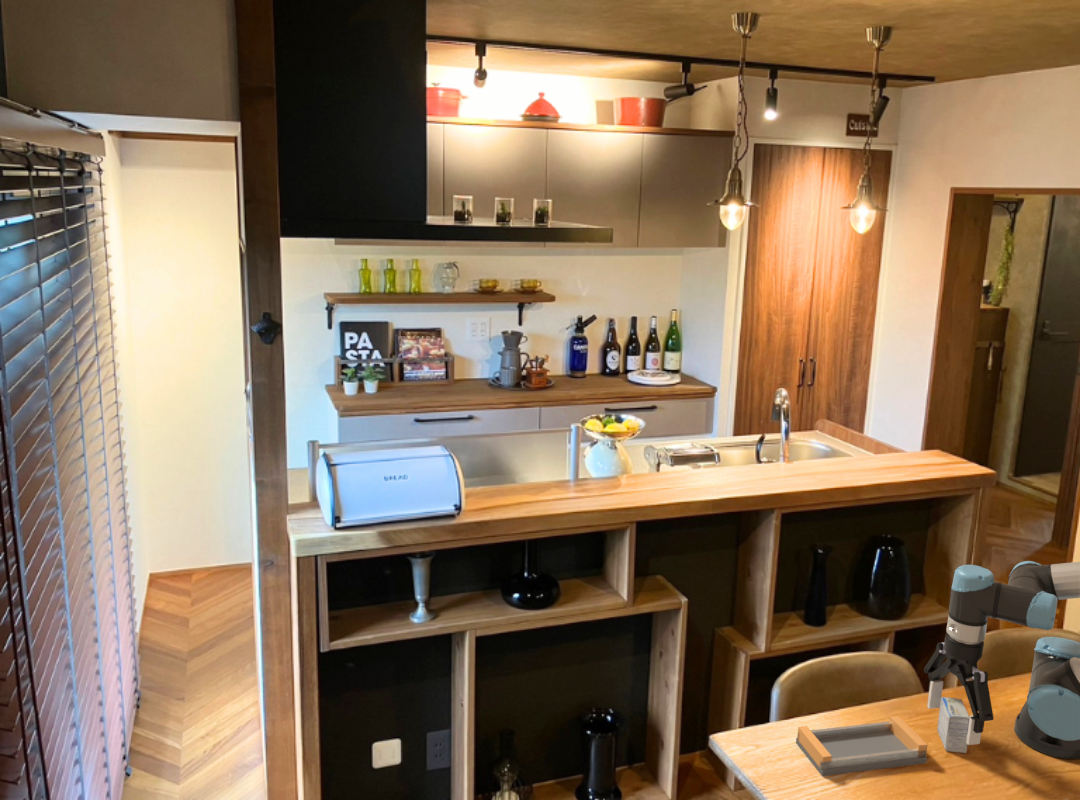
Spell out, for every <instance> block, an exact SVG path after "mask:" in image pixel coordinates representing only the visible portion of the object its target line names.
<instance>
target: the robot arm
mask: <svg viewBox="0 0 1080 800" xmlns="http://www.w3.org/2000/svg"><path fill="white" fill-rule="evenodd" d="M994 578H995V576H994V573H993V572H992V571H991V570H989V569H988V568H985V567H983V566H979V565H976V564H964V565H963V564H962V565H960V566H958V567H957V568H956V569H955V570H954V574H953V579H952V585H951V587H950V588H951V590H950V598H949V599H950V600H949V606H948V615H947V616H948V617H947V625H946V628H945V629H946V633H945V634H944V635H945V637H944V642H937V643H936V648H935V651H934V653H933V654H932V655H931V657H930V658H929V660H928V661H927V663H926V665H925V666H924V668H923V672H924V673H925V674H927V676H928V679H929V683H928V698H927V703H926V704H927V705H926V707H927V708H928V709H929V710H931V709H940V702H941V698H942V697H943V696H942V695H943V689H944V681H943V680H942V679H944V677H946V676H947V675H948V674H950V673H951V674H952V675H954V676H955V677H956V678H957V679H958V680H959V681H960V684H961V686H963V687H964V690H965V693H966V698H967V700H968V703H969V706H970V710H971V712H972V713H971V714H972V715H969V717H970V719H969V726H968V733H967V740H966V743H967V746H971V745H972V746H973V745H980V744H981V738H982V733H983V732H984V728H985V722H990V721H993V720H995V719H994V713H993V712H994V711H993V706H992V702H991V701H992V700H991V694H990V688H989V684H988V682H989V674H988V671H986V670H985V671H982V670H980V669H979V668H978V662H979V660H981V659H982V657H983V653H984V646H985V639H986V636H987V635H986V633H987V626H988V618H991V619H996V620H999V621H1000V620H1001V621H1004V622H1008V623H1012V624H1016V625H1020V626H1024V627H1028V628H1030V629H1039V630H1043V631H1051V630H1053V628H1054V624H1055V622H1056V621H1055V620H1056V614H1057V607H1058V601H1059V600H1070V599H1080V561H1074V562H1064V563H1063V562H1062V563H1053V564H1041V563H1038V562H1035V561H1031V560H1025V561H1021V562H1018V563H1017V564H1016V565H1015V566H1014V567H1013V568H1012V570H1011V572H1010V573H1009V575H1008V584H1006V583H1002V582H998V581H995V579H994ZM1033 650H1034V653H1033V654H1034V656H1033V663H1032V669H1031V676H1030V681H1029V688H1028V693H1027V696H1026V701H1025V702H1024V704H1023V706H1022V707H1021V709H1020V712H1019V713H1018V714H1017V715H1016V717H1015V721H1014V727H1013V729H1014V730H1013V731H1014V732H1015V735H1016V736H1017V738H1018V739H1019V740H1020V741H1021V742H1023V743H1024V744H1025V745H1026V746H1028V747H1030V748H1031V749H1033V750H1036V751H1037V752H1039V753H1042V754H1043V755H1047V756H1051V757H1054V758H1059V759H1067V760H1080V642H1079V641H1077V640H1076V641H1075V640H1074V639H1073V640H1072V639H1070V638H1064V637H1056V636H1043V637H1040V638H1039V639H1038V640H1037V641H1036V644H1035V648H1033ZM945 659H946V660H945ZM970 679H972V680H970Z"/></svg>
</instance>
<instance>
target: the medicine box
mask: <svg viewBox="0 0 1080 800" xmlns="http://www.w3.org/2000/svg"><path fill="white" fill-rule="evenodd" d="M938 712H939V713H938V721H937V728H936V729H937V732H938V735H939V738H940V740H941V743H942V745H943V747H944V749H945V751H946V752H953V753H962V754H966V753H967V752H968V744H967V743H966V740H967V733H968V726H969V719H970V715H969V713H968V709H967V708H966V706H965V705H964V702H963V700H962V698H955V697H943V696H941V702H940V708H939V711H938Z"/></svg>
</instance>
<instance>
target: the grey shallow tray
mask: <svg viewBox="0 0 1080 800" xmlns="http://www.w3.org/2000/svg"><path fill="white" fill-rule="evenodd" d="M795 739H796V740H795V744H796V745H797V746H798V748H799V749H800V750H801V751H802V752H803V754H804V755H805V756H806V758H807V759H808V760H809V761H810V763H811V764H812V766H814V768H815V769H816V770H817V772H818V773H819V774H820V775H821V777H827V776H834V775H842V774H844V775H845V774H850V773H858V772H859V773H860V772H865V771H866V772H868V771H874V770H883V769H890V768H891V769H892V768H899V767H907V766H915V765H922V764H923V765H925V764H927V763H928V762H927V761H928V757H927V752H928V744H927V743H926V742H925V741H924V740H923V738H922V737H921V736H920V735H918V734H917V733H916V731H914V730H913V729H912V728H911V727H910V725H908V724H907V723H906V722H905V721H904V720H903V719H902V718H901V717H900V716H899V715H892V716H889V721H882V722H881V721H880V722H874V723H873V722H872V723H863V724H857V725H856V724H855V725H847V726H839V727H829V728H819V729H812V730H811V729H810V728H809V727H808V726H807V725H804V726H798V727H797V736H796V737H795Z"/></svg>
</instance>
